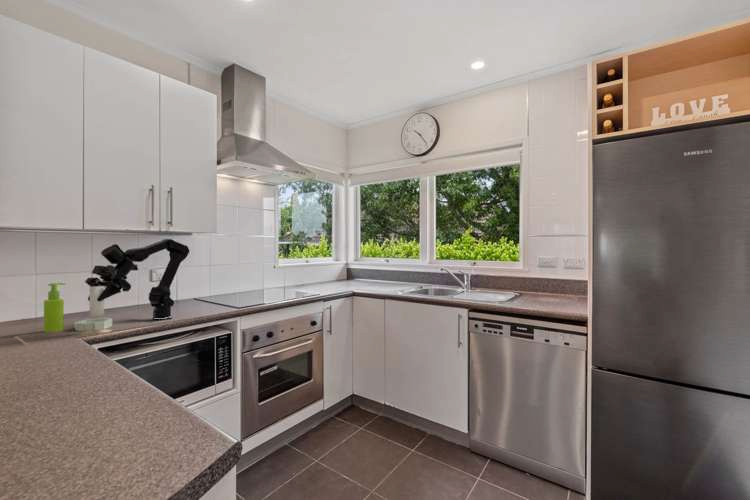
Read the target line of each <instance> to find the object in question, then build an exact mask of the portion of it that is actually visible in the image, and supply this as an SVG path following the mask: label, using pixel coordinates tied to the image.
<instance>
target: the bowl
mask: <svg viewBox="0 0 750 500" xmlns="http://www.w3.org/2000/svg"><path fill="white" fill-rule="evenodd" d="M112 325H113V318H110V317H100V318H99V317H98V318H89V319H82V320H78V321H75V322H74V329H75V331H78V332H79V331H80V332H86V331H91V330H98V329H109V328H111V327H112Z"/></svg>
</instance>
